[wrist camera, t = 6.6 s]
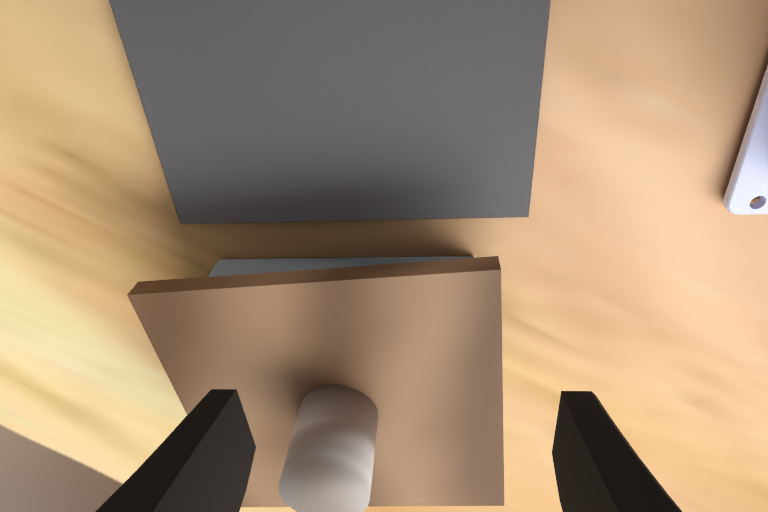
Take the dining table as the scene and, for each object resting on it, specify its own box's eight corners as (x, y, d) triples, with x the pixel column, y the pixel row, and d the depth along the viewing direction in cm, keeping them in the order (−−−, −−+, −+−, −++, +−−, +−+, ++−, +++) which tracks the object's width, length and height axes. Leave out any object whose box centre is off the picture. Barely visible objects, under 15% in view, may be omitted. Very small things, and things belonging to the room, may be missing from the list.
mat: (577, -301, 12) (581, -308, 12) (526, 212, 20) (528, 216, 19) (41, -238, 14) (31, -243, 13) (184, 219, 21) (180, 223, 21)
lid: (497, 256, 17) (516, 344, 13) (501, 489, 24) (515, 589, 20) (138, 282, 19) (67, 366, 15) (238, 491, 25) (207, 584, 22)
